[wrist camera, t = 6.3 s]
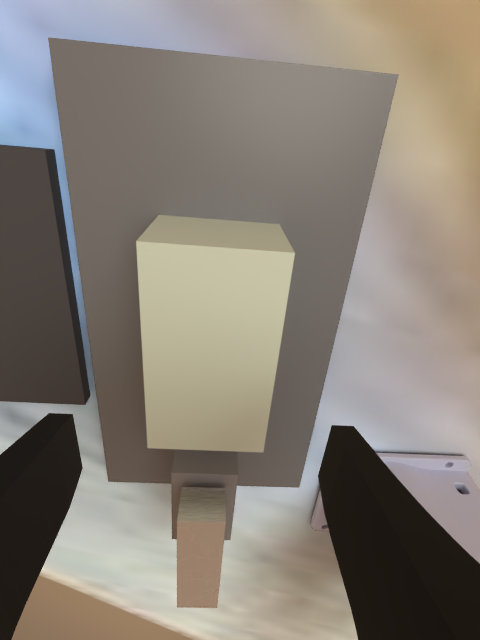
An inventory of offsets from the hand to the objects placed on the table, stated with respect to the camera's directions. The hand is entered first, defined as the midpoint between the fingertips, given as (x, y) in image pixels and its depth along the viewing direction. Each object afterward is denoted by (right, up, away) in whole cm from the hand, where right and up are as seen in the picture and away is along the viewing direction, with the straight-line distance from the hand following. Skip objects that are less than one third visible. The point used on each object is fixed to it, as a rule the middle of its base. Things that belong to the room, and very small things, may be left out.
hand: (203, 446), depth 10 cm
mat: (-11, +5, +8) cm, 14 cm away
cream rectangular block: (0, +4, +7) cm, 8 cm away
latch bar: (-1, -7, +8) cm, 11 cm away
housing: (0, +4, +9) cm, 9 cm away
